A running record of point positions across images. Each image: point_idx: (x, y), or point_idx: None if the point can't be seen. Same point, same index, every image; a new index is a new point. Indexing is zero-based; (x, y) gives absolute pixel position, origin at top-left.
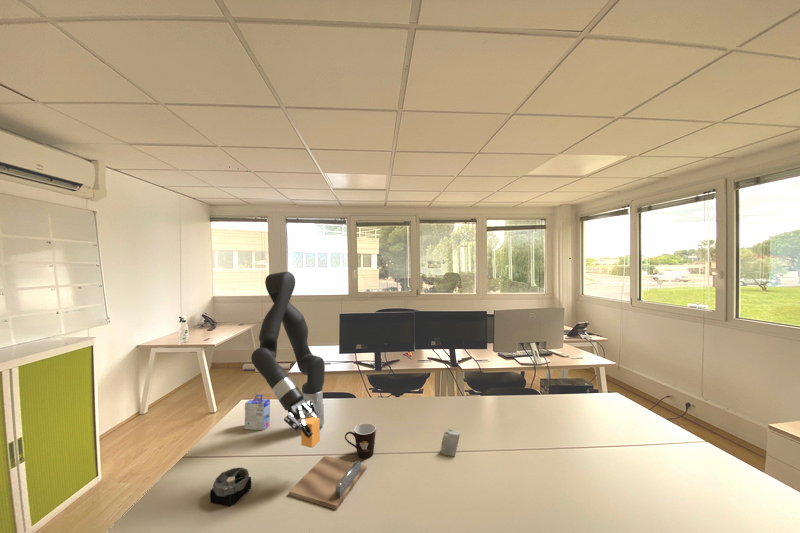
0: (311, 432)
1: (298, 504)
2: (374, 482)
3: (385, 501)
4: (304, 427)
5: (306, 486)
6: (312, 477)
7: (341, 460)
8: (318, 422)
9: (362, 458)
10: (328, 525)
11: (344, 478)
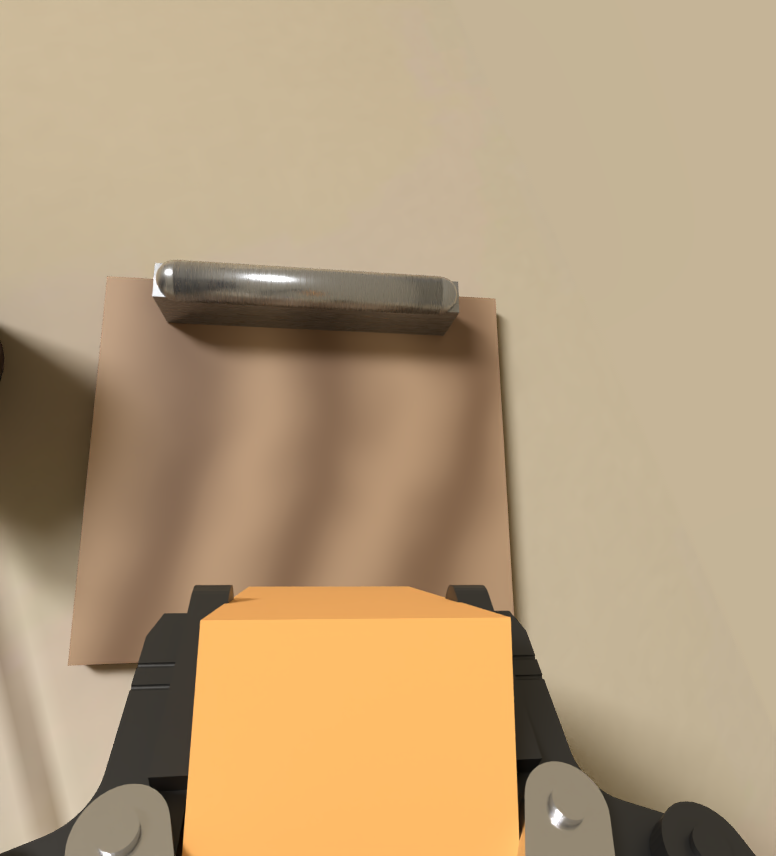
0: (470, 600)
1: (539, 530)
2: (230, 197)
3: (349, 103)
4: (554, 757)
5: (437, 562)
6: (349, 581)
7: (98, 484)
8: (260, 612)
9: (3, 358)
10: (579, 300)
11: (391, 277)
